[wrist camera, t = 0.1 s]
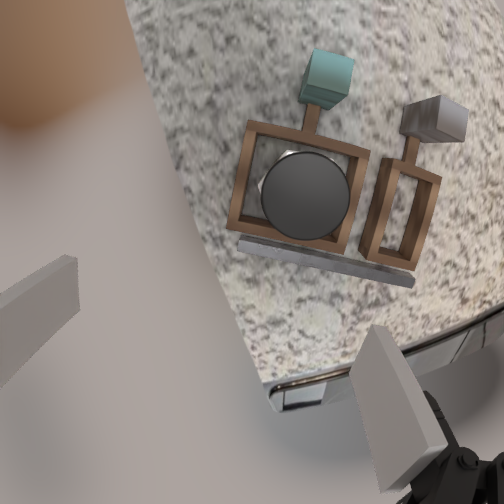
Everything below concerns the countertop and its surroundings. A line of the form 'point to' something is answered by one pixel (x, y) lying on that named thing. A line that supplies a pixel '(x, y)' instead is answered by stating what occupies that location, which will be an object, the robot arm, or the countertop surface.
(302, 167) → the jar
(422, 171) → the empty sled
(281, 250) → the end bar
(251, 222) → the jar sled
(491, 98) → the countertop surface
